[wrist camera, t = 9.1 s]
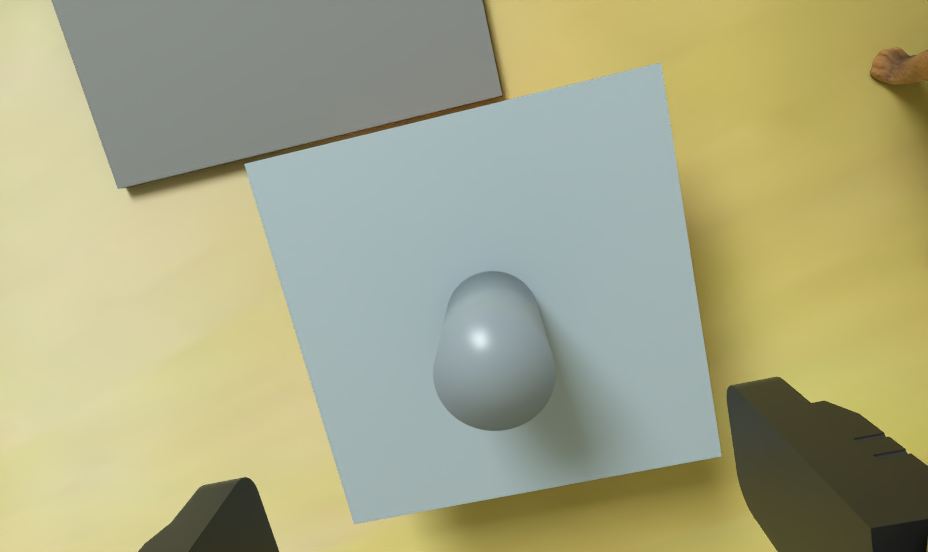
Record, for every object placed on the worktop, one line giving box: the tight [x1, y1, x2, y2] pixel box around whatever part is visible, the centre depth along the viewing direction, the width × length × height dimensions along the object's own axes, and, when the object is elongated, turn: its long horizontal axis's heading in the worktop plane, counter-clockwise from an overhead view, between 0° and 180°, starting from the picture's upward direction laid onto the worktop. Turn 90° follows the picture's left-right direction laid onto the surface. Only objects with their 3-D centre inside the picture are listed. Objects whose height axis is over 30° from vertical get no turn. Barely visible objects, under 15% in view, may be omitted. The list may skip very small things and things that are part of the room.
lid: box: [244, 63, 722, 524], centre depth 17 cm, size 13×13×6 cm
